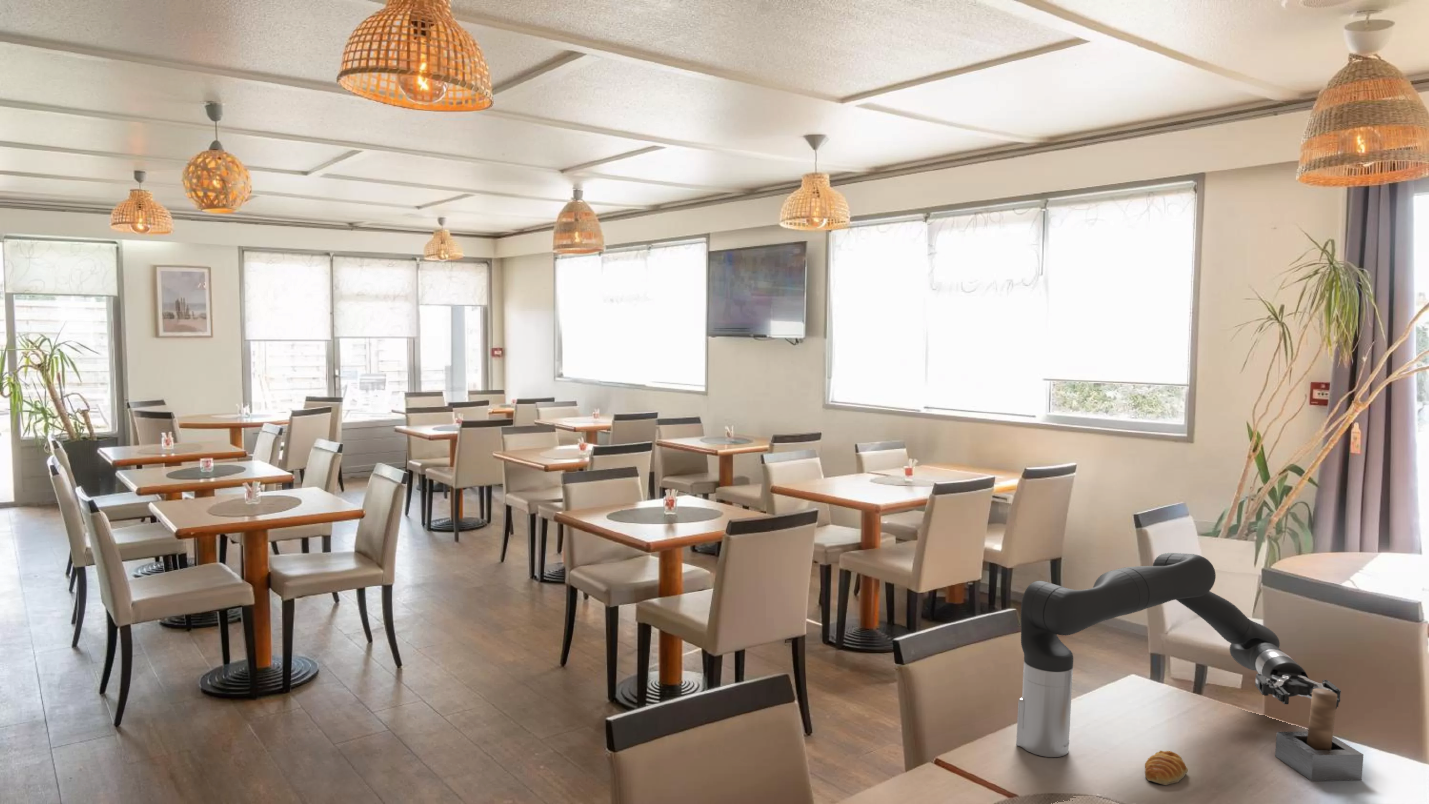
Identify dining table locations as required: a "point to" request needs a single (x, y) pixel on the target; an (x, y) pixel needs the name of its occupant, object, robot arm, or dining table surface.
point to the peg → (1321, 719)
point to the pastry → (1165, 768)
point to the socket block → (1319, 758)
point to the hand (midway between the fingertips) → (1311, 701)
